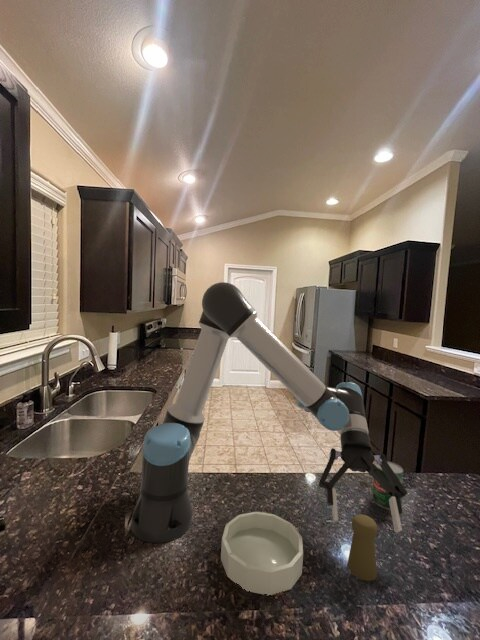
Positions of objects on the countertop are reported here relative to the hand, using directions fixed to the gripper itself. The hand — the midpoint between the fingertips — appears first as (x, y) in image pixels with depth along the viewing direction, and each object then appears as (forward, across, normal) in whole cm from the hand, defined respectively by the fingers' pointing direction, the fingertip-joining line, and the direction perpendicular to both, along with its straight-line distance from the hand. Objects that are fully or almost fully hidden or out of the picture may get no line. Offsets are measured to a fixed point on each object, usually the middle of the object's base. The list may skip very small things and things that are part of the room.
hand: (366, 526), depth 67 cm
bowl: (+8, +23, -2) cm, 25 cm away
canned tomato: (-12, -13, -24) cm, 30 cm away
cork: (+7, +1, -4) cm, 8 cm away
